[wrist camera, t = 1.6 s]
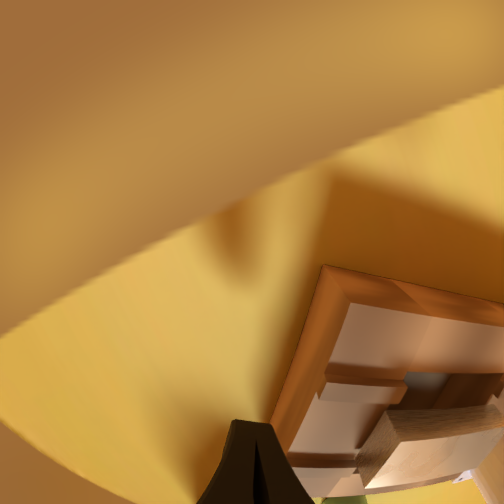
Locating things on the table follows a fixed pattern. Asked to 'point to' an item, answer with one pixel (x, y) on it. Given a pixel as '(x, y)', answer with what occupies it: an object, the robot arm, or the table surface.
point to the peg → (346, 500)
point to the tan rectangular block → (428, 444)
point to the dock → (380, 370)
